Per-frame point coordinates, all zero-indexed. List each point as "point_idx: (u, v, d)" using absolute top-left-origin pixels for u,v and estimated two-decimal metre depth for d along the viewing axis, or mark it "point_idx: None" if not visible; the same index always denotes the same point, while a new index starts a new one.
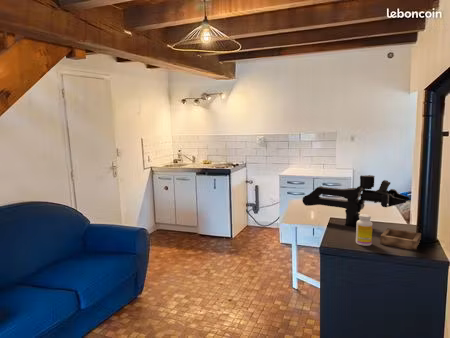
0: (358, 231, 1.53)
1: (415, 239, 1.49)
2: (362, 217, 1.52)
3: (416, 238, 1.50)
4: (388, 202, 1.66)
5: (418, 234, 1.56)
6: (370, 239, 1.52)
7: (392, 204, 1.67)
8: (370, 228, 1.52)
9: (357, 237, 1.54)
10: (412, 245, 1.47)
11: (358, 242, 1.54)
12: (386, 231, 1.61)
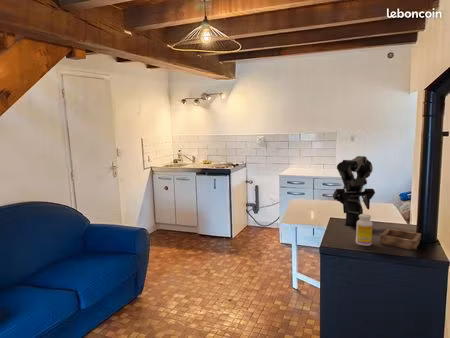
0: (358, 231, 1.53)
1: (415, 239, 1.49)
2: (362, 217, 1.52)
3: (416, 238, 1.50)
4: (337, 197, 1.66)
5: (418, 234, 1.56)
6: (370, 239, 1.52)
7: (341, 201, 1.66)
8: (370, 228, 1.52)
9: (357, 237, 1.54)
10: (412, 245, 1.47)
11: (358, 242, 1.54)
12: (386, 231, 1.61)
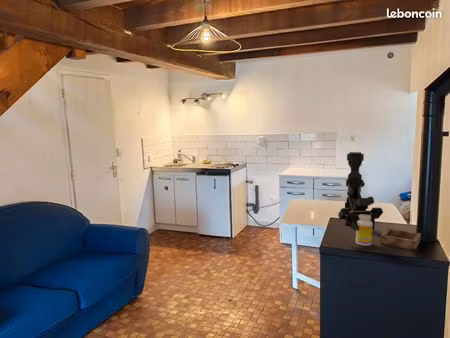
0: (358, 231, 1.53)
1: (415, 239, 1.49)
2: (362, 217, 1.52)
3: (416, 238, 1.50)
4: (345, 217, 1.58)
5: (418, 234, 1.56)
6: (370, 239, 1.52)
7: (349, 221, 1.58)
8: (370, 228, 1.52)
9: (357, 237, 1.54)
10: (412, 245, 1.47)
11: (358, 242, 1.54)
12: (386, 231, 1.61)
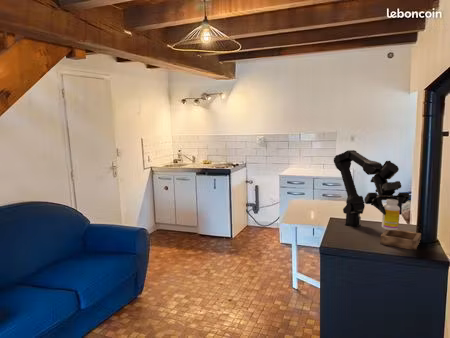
0: (385, 215, 1.53)
1: (415, 239, 1.49)
2: (390, 201, 1.52)
3: (416, 238, 1.50)
4: (372, 202, 1.58)
5: (418, 234, 1.56)
6: (397, 224, 1.52)
7: (375, 206, 1.58)
8: (397, 212, 1.51)
9: (384, 221, 1.54)
10: (412, 245, 1.47)
11: (384, 226, 1.54)
12: (386, 231, 1.61)
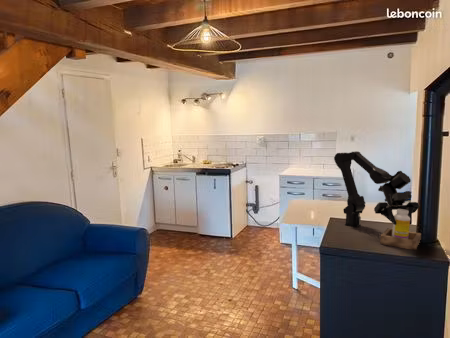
0: (395, 225, 1.54)
1: (415, 239, 1.49)
2: (400, 211, 1.53)
3: (416, 238, 1.50)
4: (382, 211, 1.59)
5: (418, 234, 1.56)
6: (407, 233, 1.53)
7: (385, 215, 1.59)
8: (408, 223, 1.53)
9: (394, 231, 1.55)
10: (412, 245, 1.47)
11: (395, 236, 1.55)
12: (386, 231, 1.61)
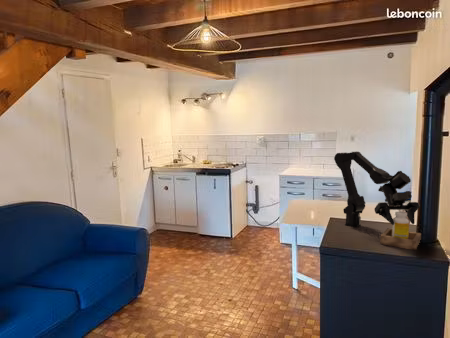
0: (395, 228, 1.55)
1: (415, 239, 1.49)
2: (399, 214, 1.54)
3: (416, 238, 1.50)
4: (380, 211, 1.58)
5: (418, 234, 1.56)
6: (407, 236, 1.53)
7: (383, 215, 1.58)
8: (407, 225, 1.53)
9: (394, 234, 1.55)
10: (412, 245, 1.47)
11: None
12: (386, 231, 1.61)
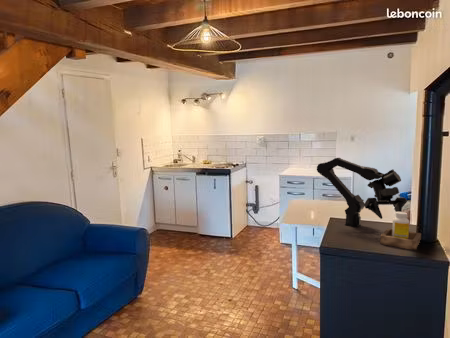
0: (395, 228, 1.55)
1: (415, 239, 1.49)
2: (399, 214, 1.54)
3: (416, 238, 1.50)
4: (369, 206, 1.68)
5: (418, 234, 1.56)
6: (407, 236, 1.53)
7: (372, 210, 1.68)
8: (407, 225, 1.53)
9: (394, 234, 1.55)
10: (412, 245, 1.47)
11: None
12: (386, 231, 1.61)
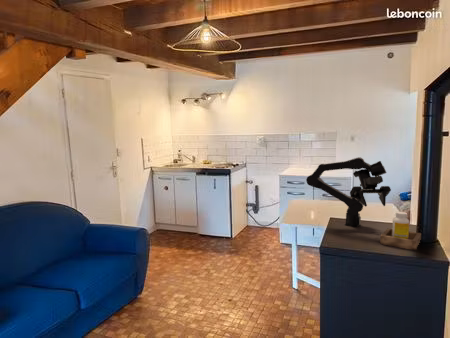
0: (395, 228, 1.55)
1: (415, 239, 1.49)
2: (399, 214, 1.54)
3: (416, 238, 1.50)
4: (354, 195, 1.73)
5: (418, 234, 1.56)
6: (407, 236, 1.53)
7: (357, 198, 1.73)
8: (407, 225, 1.53)
9: (394, 234, 1.55)
10: (412, 245, 1.47)
11: None
12: (386, 231, 1.61)
